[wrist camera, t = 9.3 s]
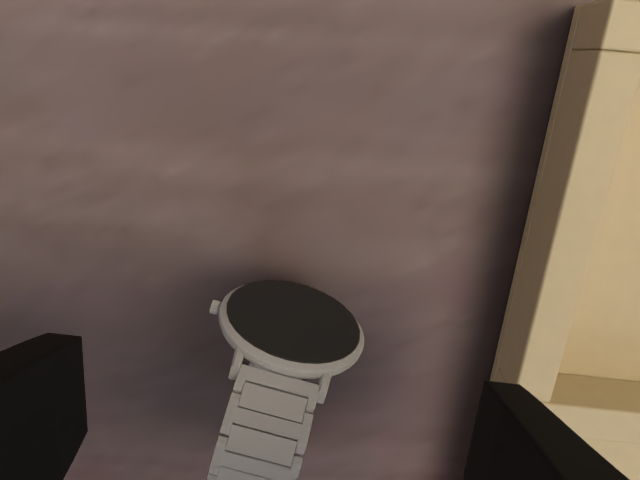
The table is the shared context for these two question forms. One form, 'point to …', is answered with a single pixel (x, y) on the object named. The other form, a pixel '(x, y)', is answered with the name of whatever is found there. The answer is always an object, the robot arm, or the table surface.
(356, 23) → the table surface
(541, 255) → the four-compartment tray
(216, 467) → the wristwatch
